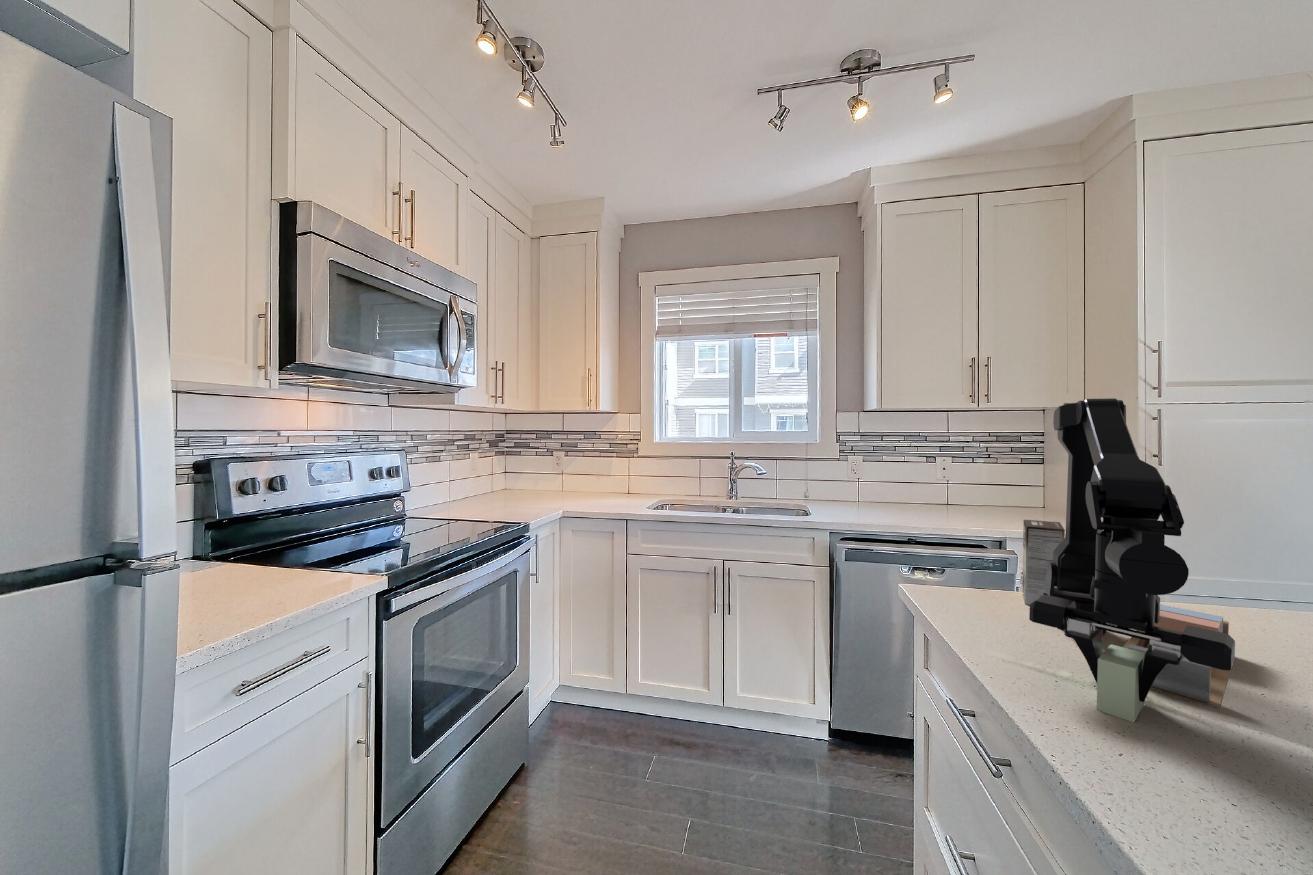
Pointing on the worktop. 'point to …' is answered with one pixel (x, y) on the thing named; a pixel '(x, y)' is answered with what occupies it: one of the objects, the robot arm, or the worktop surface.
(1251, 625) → the worktop surface
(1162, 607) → the book blue
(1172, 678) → the bookend
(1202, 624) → the book brick
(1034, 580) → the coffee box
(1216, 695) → the wooden book rack
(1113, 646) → the green book
